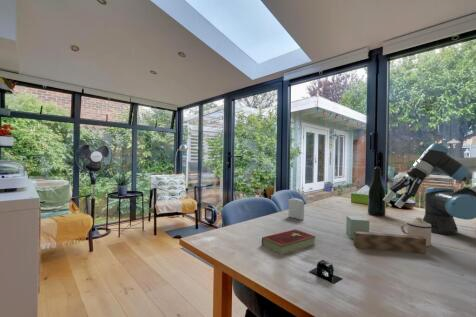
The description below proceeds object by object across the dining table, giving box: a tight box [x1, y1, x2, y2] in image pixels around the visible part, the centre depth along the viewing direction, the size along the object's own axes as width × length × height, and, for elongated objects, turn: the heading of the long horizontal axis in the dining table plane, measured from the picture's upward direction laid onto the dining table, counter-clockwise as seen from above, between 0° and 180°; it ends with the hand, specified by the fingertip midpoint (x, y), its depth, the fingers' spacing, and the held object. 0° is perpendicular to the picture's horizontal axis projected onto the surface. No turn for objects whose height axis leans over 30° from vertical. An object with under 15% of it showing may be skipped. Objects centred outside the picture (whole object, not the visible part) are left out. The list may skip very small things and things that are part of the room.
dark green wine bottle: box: [367, 166, 387, 217], centre depth 158 cm, size 10×10×33 cm
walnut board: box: [353, 231, 427, 255], centre depth 96 cm, size 26×3×6 cm, turn 78°
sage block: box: [345, 215, 370, 239], centre depth 112 cm, size 8×8×9 cm
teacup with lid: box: [400, 216, 432, 247], centre depth 105 cm, size 12×9×12 cm
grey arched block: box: [288, 197, 305, 221], centre depth 144 cm, size 10×4×12 cm, turn 39°
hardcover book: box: [261, 228, 317, 255], centre depth 99 cm, size 12×21×4 cm, turn 125°
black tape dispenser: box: [308, 259, 344, 285], centre depth 74 cm, size 12×7×5 cm, turn 39°
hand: (390, 203), depth 117 cm, fingers open, 13 cm apart
